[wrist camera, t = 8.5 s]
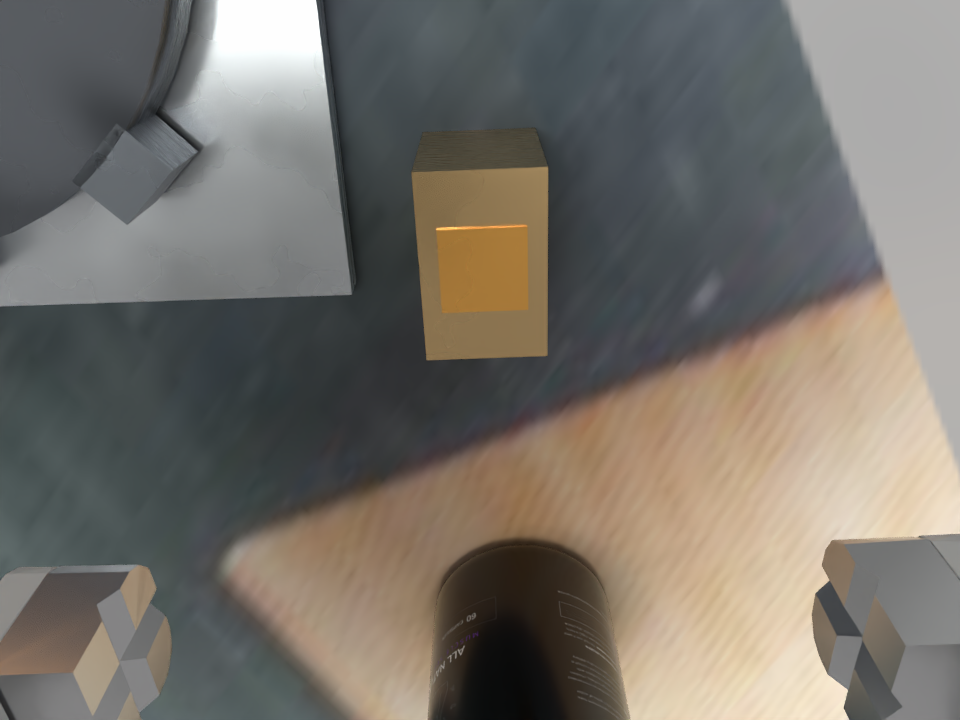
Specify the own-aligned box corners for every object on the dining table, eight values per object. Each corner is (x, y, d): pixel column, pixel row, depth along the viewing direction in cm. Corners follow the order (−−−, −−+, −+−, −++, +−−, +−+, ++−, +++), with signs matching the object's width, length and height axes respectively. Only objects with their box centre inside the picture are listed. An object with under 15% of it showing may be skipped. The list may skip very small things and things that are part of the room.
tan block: (535, 289, 24) (548, 357, 20) (434, 293, 24) (426, 361, 20) (535, 127, 22) (548, 168, 18) (422, 131, 22) (411, 173, 18)
